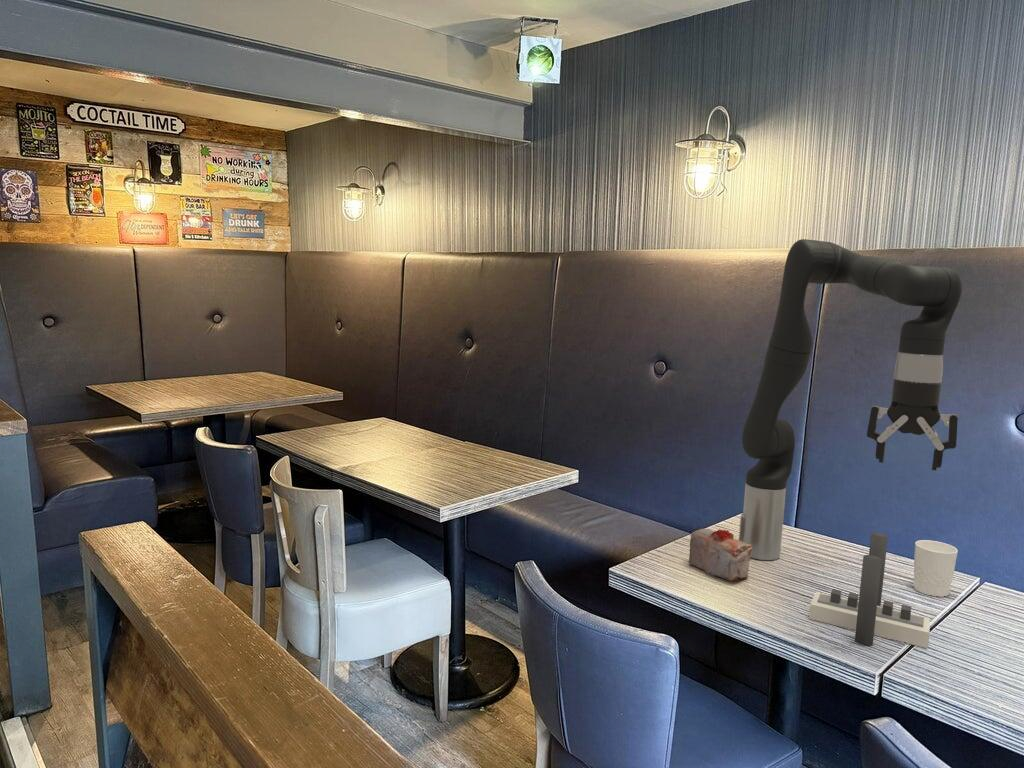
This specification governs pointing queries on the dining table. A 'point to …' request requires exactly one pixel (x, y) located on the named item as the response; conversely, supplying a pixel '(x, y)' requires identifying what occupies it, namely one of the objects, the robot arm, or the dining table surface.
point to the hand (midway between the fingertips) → (907, 465)
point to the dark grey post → (868, 600)
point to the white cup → (934, 567)
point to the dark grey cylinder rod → (879, 549)
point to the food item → (720, 554)
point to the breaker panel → (886, 623)
